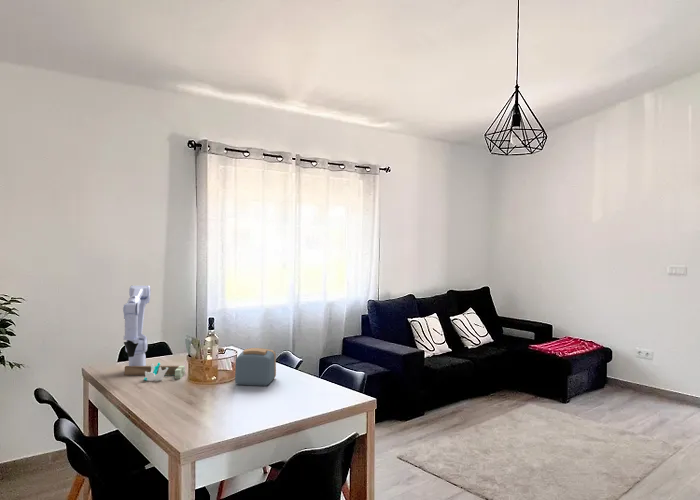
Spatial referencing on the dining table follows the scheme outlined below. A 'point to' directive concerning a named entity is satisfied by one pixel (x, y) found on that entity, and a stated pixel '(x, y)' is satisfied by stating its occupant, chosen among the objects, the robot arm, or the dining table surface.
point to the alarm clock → (255, 367)
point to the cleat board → (172, 370)
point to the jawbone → (155, 373)
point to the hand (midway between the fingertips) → (131, 356)
